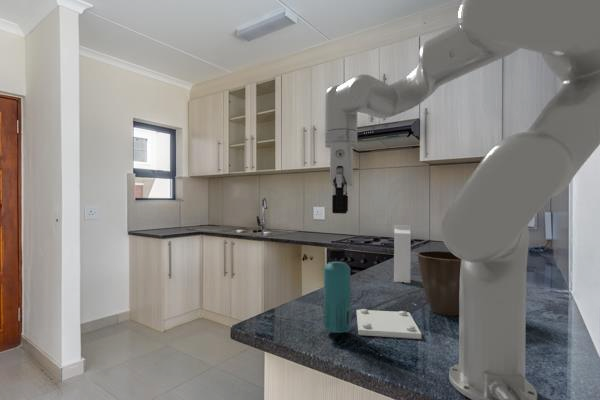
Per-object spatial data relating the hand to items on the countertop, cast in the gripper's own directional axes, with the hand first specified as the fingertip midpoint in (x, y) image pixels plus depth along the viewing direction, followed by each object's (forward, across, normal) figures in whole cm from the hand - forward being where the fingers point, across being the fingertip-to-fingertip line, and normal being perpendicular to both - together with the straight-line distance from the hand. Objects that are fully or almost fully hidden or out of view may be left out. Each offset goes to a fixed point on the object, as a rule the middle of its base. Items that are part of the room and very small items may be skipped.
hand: (340, 212), depth 76 cm
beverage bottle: (+29, -1, +1) cm, 29 cm away
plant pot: (+29, +20, -29) cm, 45 cm away
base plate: (+28, +6, -11) cm, 31 cm away
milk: (+29, +54, -22) cm, 65 cm away
